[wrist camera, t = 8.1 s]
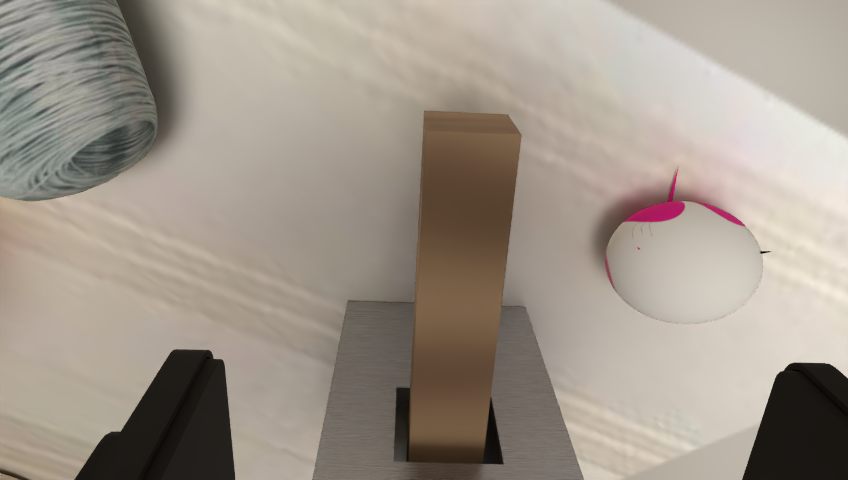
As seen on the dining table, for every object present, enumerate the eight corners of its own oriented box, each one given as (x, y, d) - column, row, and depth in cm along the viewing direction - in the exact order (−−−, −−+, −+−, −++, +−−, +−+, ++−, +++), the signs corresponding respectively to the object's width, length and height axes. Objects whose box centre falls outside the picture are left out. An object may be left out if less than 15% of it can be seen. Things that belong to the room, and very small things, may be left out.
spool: (226, 176, 27) (-17, 212, 19) (98, 189, 32) (-143, 224, 23) (167, -152, 25) (-139, -280, 16) (39, -86, 30) (-251, -159, 21)
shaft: (465, 505, 29) (471, 560, 27) (404, 503, 29) (403, 558, 26) (507, 114, 22) (521, 134, 19) (424, 110, 22) (425, 130, 19)
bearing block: (509, 419, 37) (558, 639, 25) (347, 414, 37) (315, 635, 25) (525, 306, 34) (589, 495, 22) (347, 300, 34) (310, 488, 21)
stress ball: (706, 190, 35) (783, 152, 29) (715, 329, 34) (799, 323, 27) (579, 184, 34) (628, 144, 28) (582, 325, 33) (635, 318, 26)
